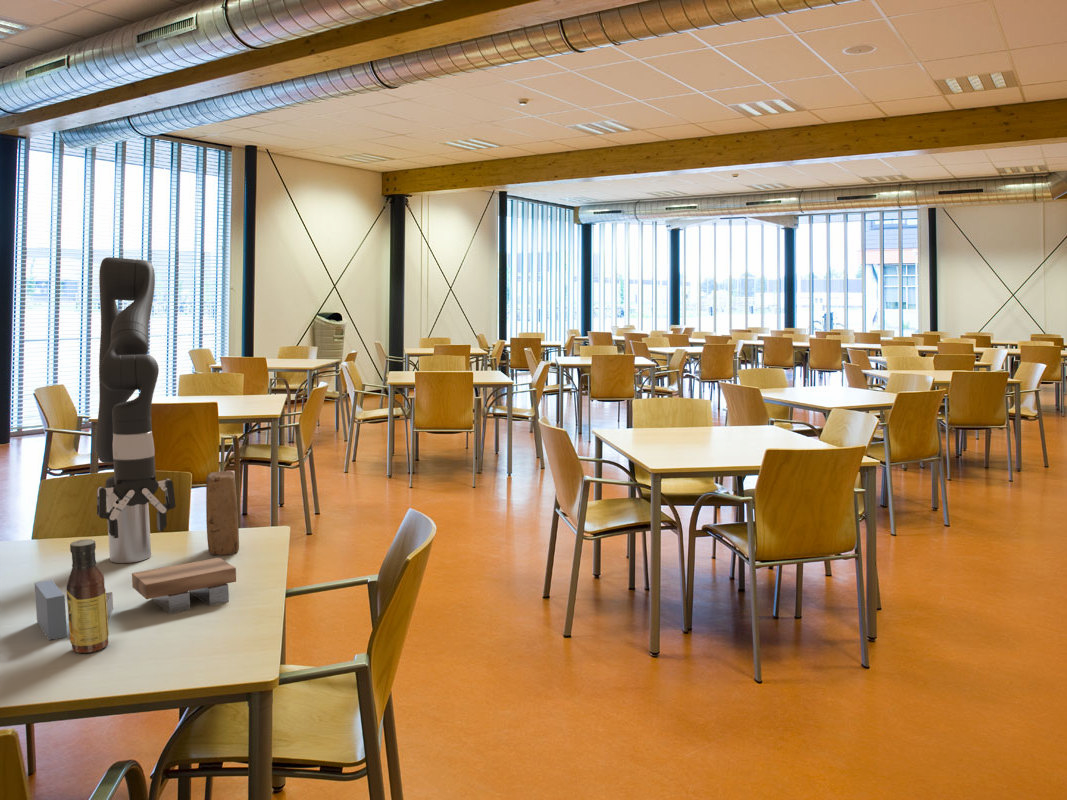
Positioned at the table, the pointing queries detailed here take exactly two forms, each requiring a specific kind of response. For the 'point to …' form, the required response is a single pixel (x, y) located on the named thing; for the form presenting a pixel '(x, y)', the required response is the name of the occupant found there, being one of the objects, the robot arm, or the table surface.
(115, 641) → the table surface
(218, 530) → the block
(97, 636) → the sauce bottle
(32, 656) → the table surface
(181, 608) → the bar middle
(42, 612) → the stop block
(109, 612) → the bar loose
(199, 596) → the bar rear
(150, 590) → the slab
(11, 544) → the table surface
